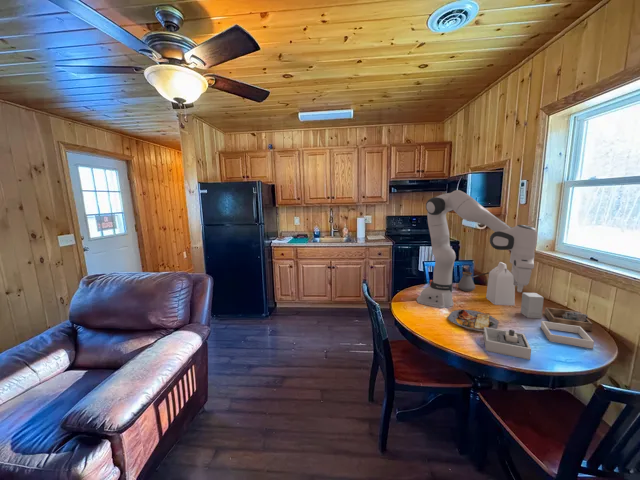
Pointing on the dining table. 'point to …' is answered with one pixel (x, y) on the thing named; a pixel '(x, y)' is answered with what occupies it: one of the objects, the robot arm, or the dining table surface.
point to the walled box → (504, 348)
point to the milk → (501, 286)
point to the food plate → (479, 319)
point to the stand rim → (559, 312)
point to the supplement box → (532, 305)
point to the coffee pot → (468, 281)
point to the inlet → (502, 340)
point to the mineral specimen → (575, 316)
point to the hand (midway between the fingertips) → (517, 288)
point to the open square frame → (583, 342)
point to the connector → (511, 336)
